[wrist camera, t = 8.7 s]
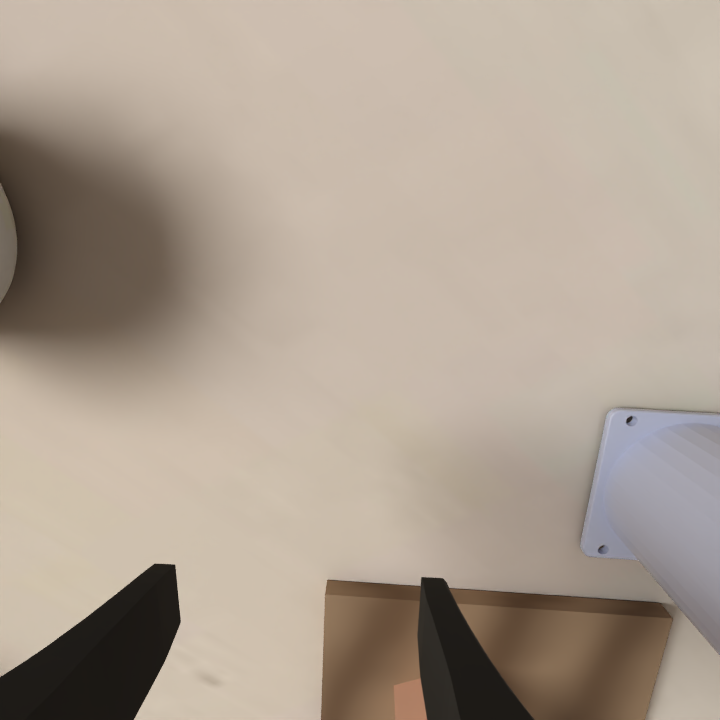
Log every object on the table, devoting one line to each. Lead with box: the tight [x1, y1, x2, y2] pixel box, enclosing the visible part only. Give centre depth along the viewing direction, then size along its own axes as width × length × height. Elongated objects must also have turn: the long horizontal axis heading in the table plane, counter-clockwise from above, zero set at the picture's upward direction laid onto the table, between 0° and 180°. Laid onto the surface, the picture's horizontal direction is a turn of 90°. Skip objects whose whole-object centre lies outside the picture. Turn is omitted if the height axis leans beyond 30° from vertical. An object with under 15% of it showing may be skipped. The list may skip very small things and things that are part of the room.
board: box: [321, 580, 673, 720], centre depth 24 cm, size 18×14×1 cm
